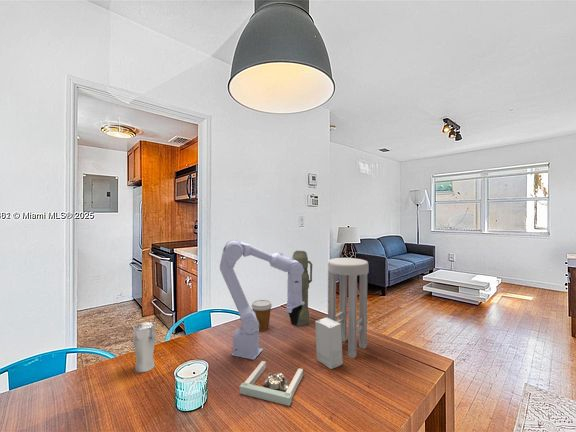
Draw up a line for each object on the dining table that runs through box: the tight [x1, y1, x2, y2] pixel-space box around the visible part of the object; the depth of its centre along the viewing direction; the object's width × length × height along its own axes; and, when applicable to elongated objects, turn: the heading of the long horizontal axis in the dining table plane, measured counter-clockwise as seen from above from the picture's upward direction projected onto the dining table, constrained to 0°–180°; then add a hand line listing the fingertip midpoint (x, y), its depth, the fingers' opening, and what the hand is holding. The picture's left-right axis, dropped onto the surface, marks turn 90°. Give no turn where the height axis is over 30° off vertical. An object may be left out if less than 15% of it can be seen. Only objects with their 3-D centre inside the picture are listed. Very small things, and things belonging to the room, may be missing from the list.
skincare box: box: [314, 316, 344, 370], centre depth 101 cm, size 8×6×15 cm
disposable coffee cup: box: [250, 299, 273, 332], centre depth 130 cm, size 10×10×12 cm
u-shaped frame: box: [239, 360, 304, 407], centre depth 89 cm, size 16×15×2 cm
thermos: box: [291, 250, 313, 327], centre depth 136 cm, size 9×12×35 cm
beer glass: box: [132, 321, 157, 374], centre depth 98 cm, size 7×7×15 cm
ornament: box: [263, 371, 290, 392], centre depth 88 cm, size 8×7×4 cm
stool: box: [327, 257, 370, 359], centre depth 112 cm, size 16×16×35 cm
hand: (294, 324), depth 112 cm, fingers closed
